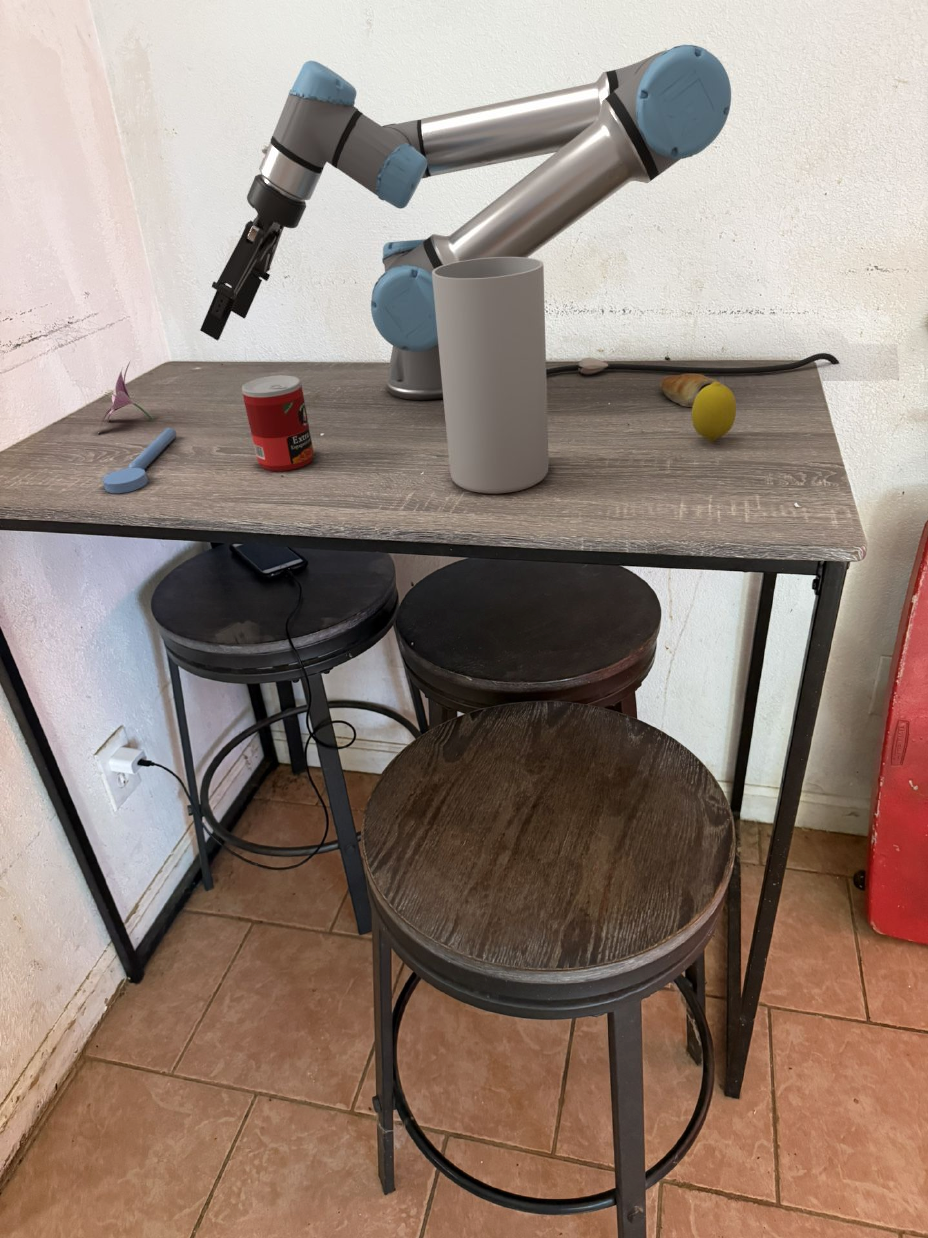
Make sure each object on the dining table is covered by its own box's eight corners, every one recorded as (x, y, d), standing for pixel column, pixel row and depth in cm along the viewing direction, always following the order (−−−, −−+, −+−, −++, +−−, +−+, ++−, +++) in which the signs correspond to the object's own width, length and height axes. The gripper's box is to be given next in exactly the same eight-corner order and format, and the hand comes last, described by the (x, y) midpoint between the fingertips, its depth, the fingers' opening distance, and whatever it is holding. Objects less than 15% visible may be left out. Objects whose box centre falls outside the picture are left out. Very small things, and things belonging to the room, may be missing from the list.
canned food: (303, 472, 114) (288, 391, 108) (249, 471, 115) (231, 392, 110) (322, 451, 120) (309, 374, 114) (270, 451, 122) (254, 375, 116)
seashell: (578, 370, 144) (578, 355, 142) (608, 368, 143) (608, 353, 142) (578, 377, 140) (578, 362, 139) (608, 376, 139) (608, 361, 138)
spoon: (156, 437, 131) (153, 426, 130) (191, 436, 130) (188, 424, 129) (98, 494, 113) (94, 482, 112) (138, 492, 112) (134, 479, 111)
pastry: (648, 394, 130) (649, 369, 128) (682, 385, 132) (684, 361, 130) (689, 409, 123) (691, 383, 121) (725, 400, 125) (727, 374, 123)
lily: (136, 413, 146) (92, 370, 140) (182, 388, 140) (139, 342, 134) (108, 458, 138) (60, 415, 132) (156, 434, 133) (108, 387, 127)
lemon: (734, 435, 113) (740, 375, 109) (731, 450, 109) (737, 389, 104) (692, 433, 115) (696, 374, 111) (687, 448, 110) (691, 387, 106)
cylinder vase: (518, 502, 100) (508, 280, 87) (432, 486, 106) (410, 276, 93) (565, 465, 109) (562, 257, 96) (482, 452, 115) (469, 255, 102)
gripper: (280, 164, 125) (225, 292, 135) (231, 179, 104) (170, 329, 114) (325, 193, 126) (268, 318, 137) (286, 214, 105) (221, 359, 116)
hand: (223, 323), depth 125 cm, fingers open, 13 cm apart
